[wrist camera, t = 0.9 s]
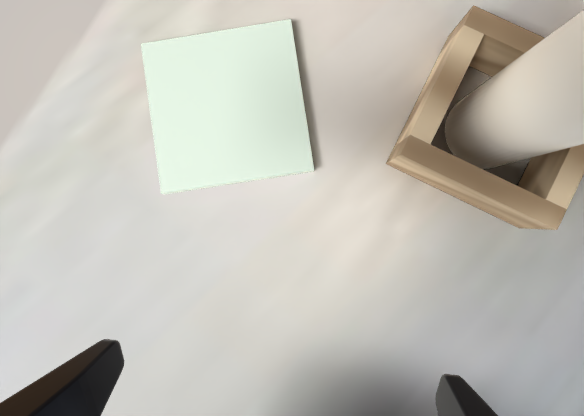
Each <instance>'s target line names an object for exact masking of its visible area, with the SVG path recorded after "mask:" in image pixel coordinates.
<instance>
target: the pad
mask: <svg viewBox="0 0 584 416" xmlns="http://www.w3.org/2000/svg"><path fill="white" fill-rule="evenodd" d="M141 49H142V56H143V64H144V71H145V78H146V86H147V93H148V101H149V108H150V115H151V123H152V130H153V137H154V145H155V152H156V160H157V167H158V174H159V182H160V189H161V194H171V193H178V192H184V191H191V190H197V189H204V188H210V187H217V186H223V185H229V184H236V183H242V182H249V181H255V180H262V179H268V178H275V177H281V176H288V175H294V174H301V173H307V172H314V165H313V159H312V152H311V146H310V139H309V133H308V126H307V120H306V114H305V107H304V101H303V94H302V88H301V81H300V75H299V68H298V62H297V55H296V49H295V43H294V36H293V30H292V23H291V19H288V20H282V21H276V22H270V23H264V24H258V25H252V26H246V27H240V28H234V29H228V30H222V31H215V32H209V33H203V34H197V35H191V36H185V37H179V38H173V39H167V40H161V41H155V42H149V43H143V44H141Z"/></svg>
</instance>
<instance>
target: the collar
mask: <svg viewBox="0 0 584 416" xmlns="http://www.w3.org/2000/svg"><path fill="white" fill-rule="evenodd" d="M543 39H545V38H544V37H542V36H540V35H537V34H535V33H533V32H531V31H529V30H526V29H524V28H522V27H520V26H518V25H515V24H513V23H511V22H509V21H507V20H504V19H502V18H500V17H498V16H496V15H493V14H491V13H489V12H487V11H485V10H482V9H480V8H478V7H476V6H473V7H472V8H471V9H470V10H469V12H468V13H467V14H466V15H465V17H464V18H463V19H462V20H461V21H460V23H459V24H458V25H457V26H456V28H455V29H454V30H453V31H452V33H451V34H450V35H449V36H448V38H447V40H446V42H445V44H444V47H443V49H442V51H441V53H440V55H439V57H438V59H437V61H436V63H435V65H434V67H433V69H432V71H431V73H430V75H429V77H428V79H427V81H426V83H425V85H424V87H423V89H422V91H421V93H420V95H419V97H418V99H417V102H416V104H415V106H414V108H413V110H412V112H411V114H410V116H409V118H408V120H407V122H406V124H405V126H404V128H403V130H402V132H401V134H400V136H399V138H398V140H397V142H396V144H395V146H394V148H393V150H392V152H391V154H390V156H389V159H388V161H387V163H386V164H388V165H390V166H392V167H394V168H396V169H398V170H400V171H402V172H404V173H406V174H408V175H410V176H412V177H414V178H417V179H419V180H421V181H423V182H425V183H427V184H429V185H431V186H433V187H435V188H437V189H439V190H441V191H443V192H446V193H448V194H450V195H452V196H454V197H456V198H458V199H460V200H462V201H464V202H466V203H468V204H470V205H472V206H475V207H477V208H479V209H481V210H483V211H485V212H487V213H489V214H491V215H493V216H495V217H497V218H499V219H502V220H504V221H506V222H508V223H510V224H512V225H514V226H516V227H518V228H528V229H551V230H557V229H558V227H559V225H560V223H561V221H562V219H563V217H564V214H565V212H566V210H567V208H568V206H569V204H570V202H571V200H572V198H573V196H574V193H575V191H576V189H577V187H578V185H579V183H580V181H581V179H582V177H583V175H584V144H581V145H577V146H574V147H570V148H566V149H562V150H558V151H555V152H551V153H547V154H543V155H539V156H536V157H532V158H531V159H530V161H529V163H528V166H527V168H526V170H525V172H524V174H523V176H522V178H521V180H520V182H519V184H518V186H517V185H515V184H512V183H510V182H508V181H506V180H504V179H502V178H500V177H498V176H496V175H494V174H491V173H489V172H487V171H485V170H483V169H481V168H479V167H477V166H475V165H473V164H471V163H468V162H466V161H464V160H462V159H460V158H458V157H456V156H454V155H452V154H450V153H447V152H445V151H443V150H441V149H439V148H437V147H435V146H433V145H431V142H432V140H433V138H434V136H435V134H436V132H437V130H438V128H439V126H440V124H441V122H442V120H443V118H444V115H445V113H446V111H447V109H448V107H449V105H450V103H451V101H452V99H453V97H454V95H455V93H456V91H457V89H458V87H459V85H460V83H461V81H462V79H463V77H464V75H465V73H466V70H467V68H468V66H470V67H473V68H475V69H477V70H479V71H481V72H483V73H486V74H488V75H490V76H492V77H493V76H494V75H496V74H497V73H498V72H500V71H501V70H502V69H504V68H505V67H506V66H508V65H509V64H511V63H512V62H513V61H515V60H516V59H517V58H519V57H520V56H521V55H523V54H524V53H526V52H527V51H528V50H530V49H531V48H532V47H534V46H535V45H536V44H538V43H539V42H540V41H542V40H543Z"/></svg>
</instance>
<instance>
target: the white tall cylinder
mask: <svg viewBox="0 0 584 416" xmlns="http://www.w3.org/2000/svg"><path fill="white" fill-rule="evenodd" d="M445 138H446V142H447V144H448V147H449V149H450V150H451V152H452V153H453V154H454V156H456V157H458V158H460V159H462V160H464V161H466V162H468V163H471V164H473V165H475V166H477V167H479V168H481V169H488V168H494V167H497V166H501V165H505V164H509V163H513V162H516V161H520V160H524V159H528V158H532V157H536V156H539V155H543V154H547V153H551V152H555V151H558V150H562V149H566V148H570V147H574V146H577V145H581V144H584V10H583V11H581V12H580V13H579V14H577V15H576V16H574V17H573V18H572V19H570V20H569V21H568V22H566V23H565V24H564V25H562V26H561V27H560V28H558V29H557V30H555V31H554V32H553V33H551V34H550V35H549V36H547V37H546V38H545V39H543V40H542V41H540V42H539V43H538V44H536V45H535V46H534V47H532V48H531V49H530V50H528V51H527V52H526V53H524V54H523V55H521V56H520V57H519V58H517V59H516V60H515V61H513V62H512V63H511V64H509V65H508V66H506V67H505V68H504V69H502V70H501V71H500V72H498V73H497V74H496V75H494V76H493V77H492V78H490V79H489V80H487V81H486V82H485V83H483V84H482V85H481V86H479V87H478V88H477V89H475V90H474V91H472V92H471V93H470V94H468V95H467V96H466V97H464V98H463V99H462V100H460V101H459V102H458V103H457V104H456V105H455V106H454V107H453V108H452V109H451V111H450V113H449V114H448V117H447V119H446V123H445Z"/></svg>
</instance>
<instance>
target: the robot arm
mask: <svg viewBox="0 0 584 416" xmlns="http://www.w3.org/2000/svg"><path fill="white" fill-rule="evenodd" d="M123 366H124V358H123V354H122V350H121V346H120V343H119V342H118V341H117V340H110V339H104V340H101V341H99V342H98V343H96V344H95V345H93V346H91V347H90V348H88V349H86V350H85V351H83V352H82V353H80V354H78V355H77V356H75V357H74V358H72V359H70V360H69V361H67V362H66V363H64V364H62V365H61V366H59V367H57V368H56V369H54V370H53V371H51V372H49V373H48V374H46V375H45V376H43V377H41V378H40V379H38V380H37V381H35V382H33V383H32V384H30V385H29V386H27V387H25V388H24V389H22V390H20V391H19V392H17V393H16V394H14V395H12V396H11V397H9V398H8V399H6V400H4V401H3V402H1V403H0V416H101V414H102V412H103V410H104V408H105V405H106V403H107V401H108V399H109V397H110V395H111V393H112V391H113V389H114V386H115V384H116V382H117V380H118V378H119V376H120V374H121V372H122V369H123ZM436 406H437V411H438V415H439V416H498V415H497V414H496V413H495V412H494V411H493V410H492V409H491V408H490V407H489V406H488V405H487V403H486V402H485V401H484V400H483V399H482V398H481V397H480V396H479V395H478V394H477V393H476V392H475V391H474V390H473V389H472V388H471V387H470V386H469V385H468V384H467V383H466V381H465V380H464V379H463V378H461V377H460V376H458V375H450V374H444V375H442V377H441V380H440V383H439V386H438V389H437V393H436Z"/></svg>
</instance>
